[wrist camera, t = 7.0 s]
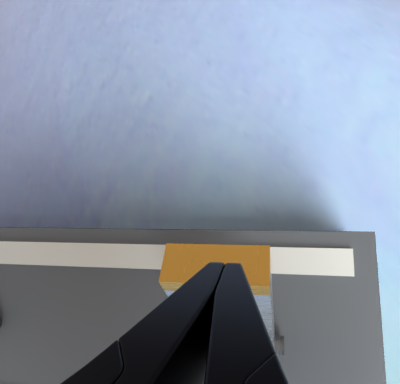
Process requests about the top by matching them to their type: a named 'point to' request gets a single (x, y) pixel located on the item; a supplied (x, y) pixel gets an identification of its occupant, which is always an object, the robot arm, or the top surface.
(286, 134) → the top surface
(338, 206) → the top surface
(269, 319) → the lever
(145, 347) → the robot arm
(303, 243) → the switch box
